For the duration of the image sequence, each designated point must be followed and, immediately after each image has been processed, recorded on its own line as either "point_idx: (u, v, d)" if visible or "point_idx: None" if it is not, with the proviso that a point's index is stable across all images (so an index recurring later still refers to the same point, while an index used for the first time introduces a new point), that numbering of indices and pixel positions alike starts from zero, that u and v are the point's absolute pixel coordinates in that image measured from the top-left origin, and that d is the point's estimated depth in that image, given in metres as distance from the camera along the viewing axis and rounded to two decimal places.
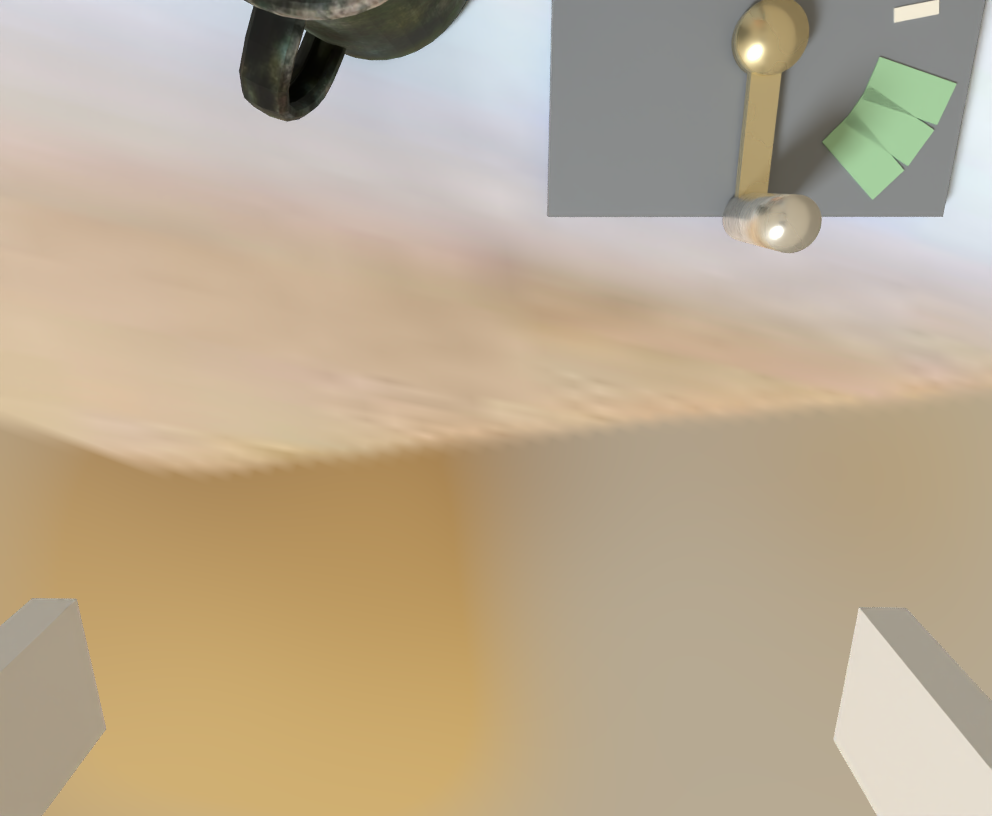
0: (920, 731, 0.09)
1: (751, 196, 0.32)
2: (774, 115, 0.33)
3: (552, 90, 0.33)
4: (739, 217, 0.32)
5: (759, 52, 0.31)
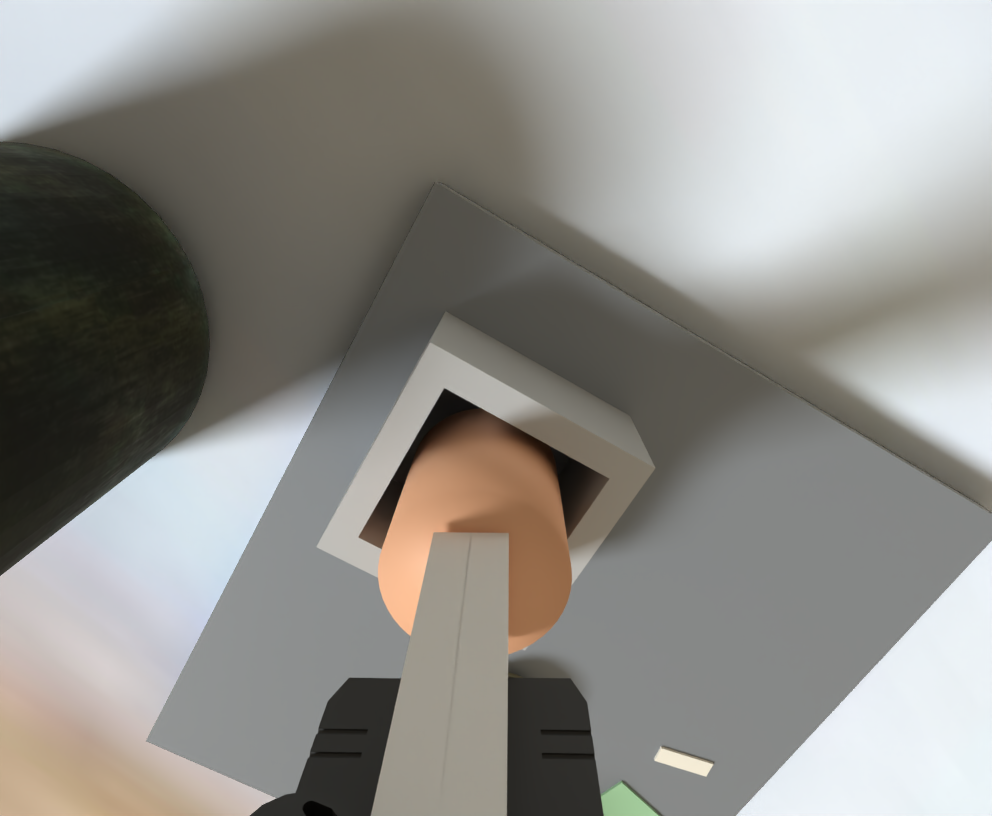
0: None
1: None
2: None
3: (209, 622, 0.23)
4: None
5: None
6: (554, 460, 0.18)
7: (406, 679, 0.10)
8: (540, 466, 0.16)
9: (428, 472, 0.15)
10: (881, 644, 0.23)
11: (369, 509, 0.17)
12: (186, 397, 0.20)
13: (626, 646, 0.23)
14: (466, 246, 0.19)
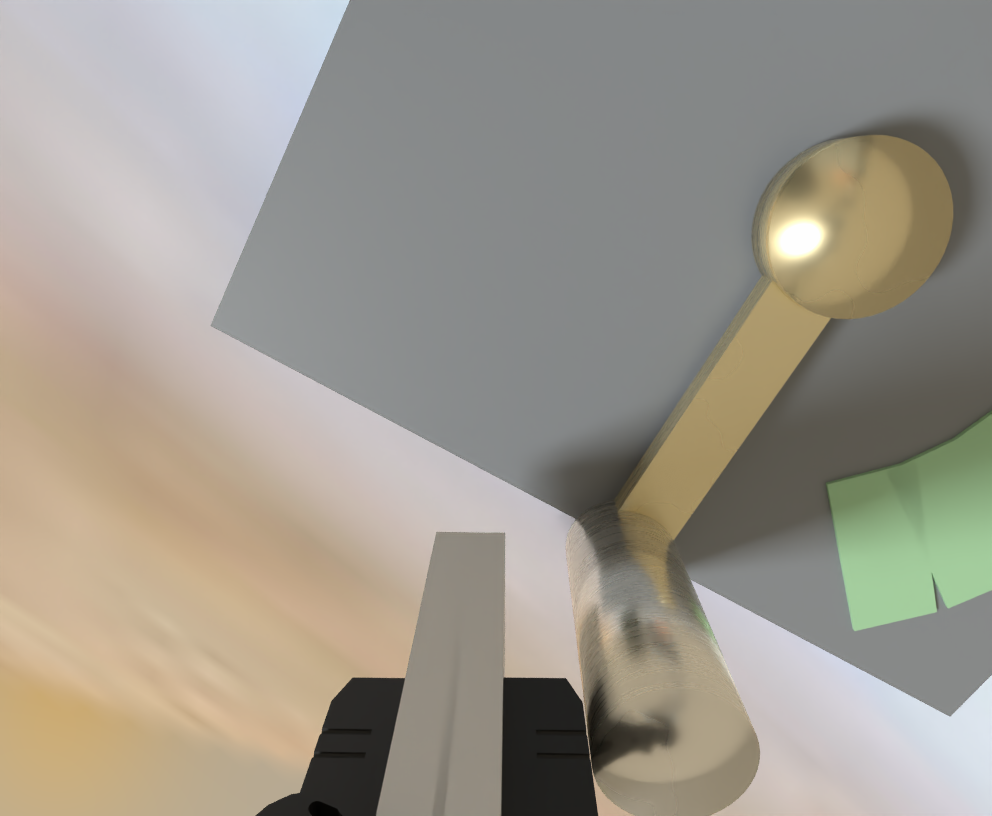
0: None
1: (636, 550, 0.13)
2: (771, 394, 0.14)
3: (329, 56, 0.13)
4: (586, 587, 0.13)
5: (811, 249, 0.12)
6: None
7: (410, 679, 0.10)
8: None
9: None
10: None
11: None
12: None
13: None
14: None
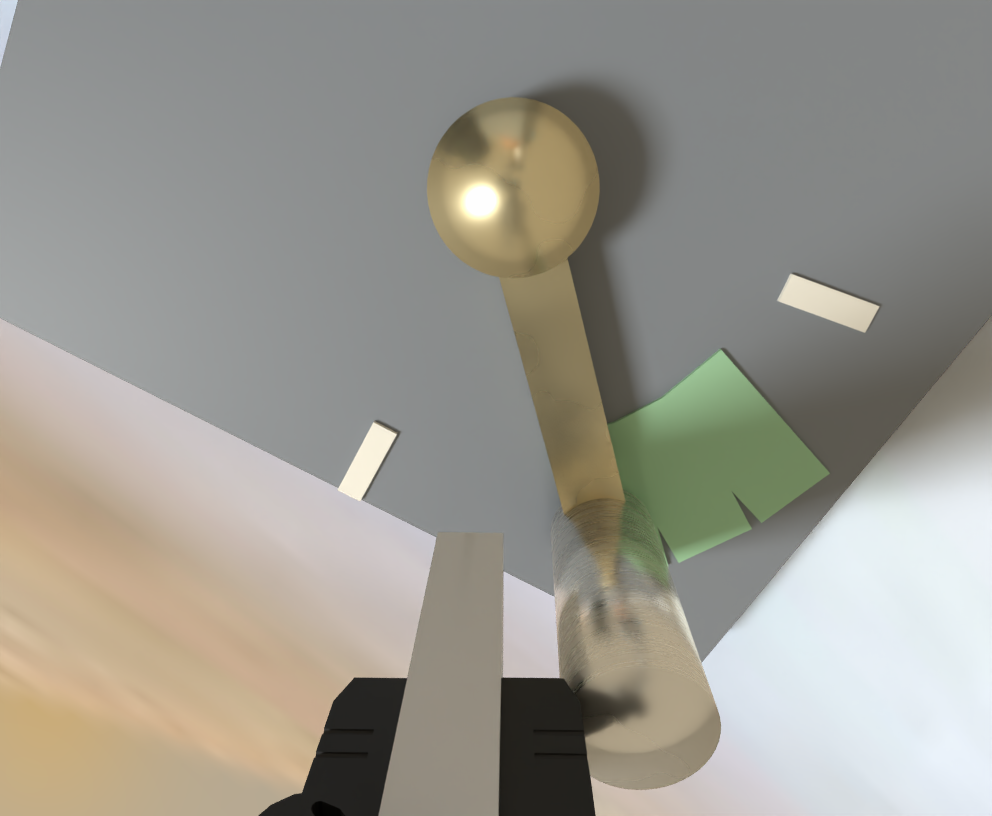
0: None
1: (572, 549, 0.14)
2: (583, 346, 0.14)
3: (14, 24, 0.13)
4: (555, 607, 0.14)
5: (493, 236, 0.13)
6: None
7: (412, 679, 0.09)
8: None
9: None
10: None
11: None
12: None
13: (740, 50, 0.13)
14: None
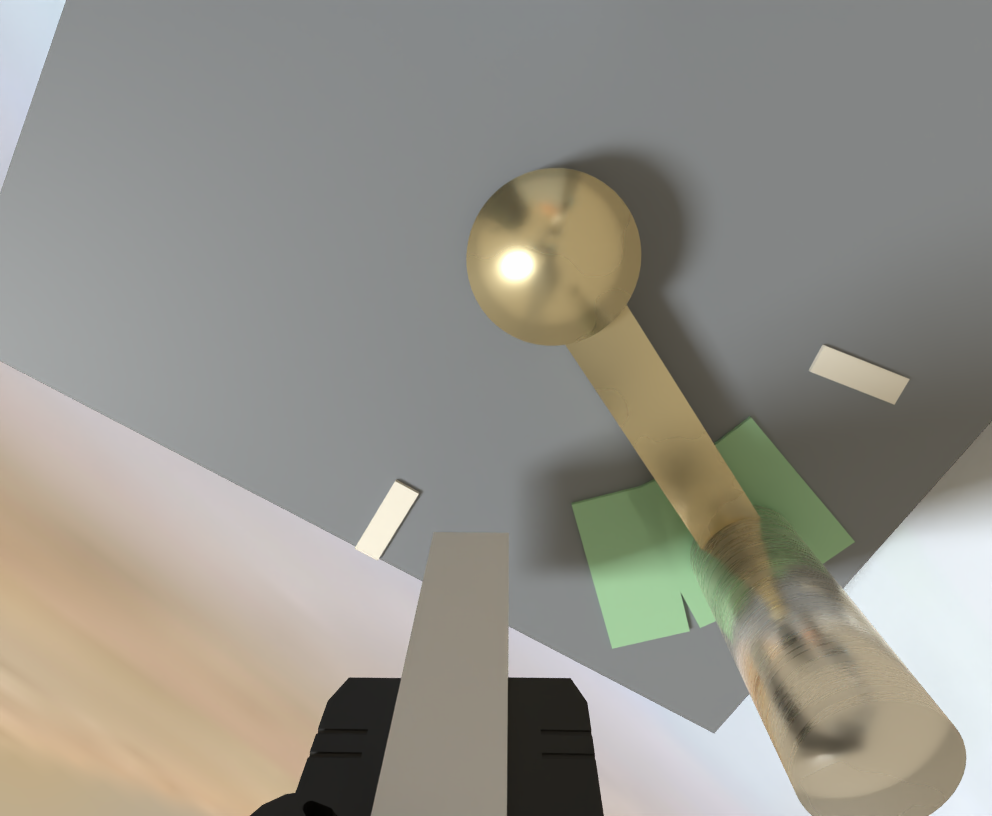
0: None
1: (727, 586, 0.13)
2: (668, 381, 0.14)
3: (44, 73, 0.13)
4: None
5: (547, 307, 0.13)
6: None
7: (406, 679, 0.09)
8: None
9: None
10: None
11: None
12: None
13: (781, 126, 0.13)
14: None
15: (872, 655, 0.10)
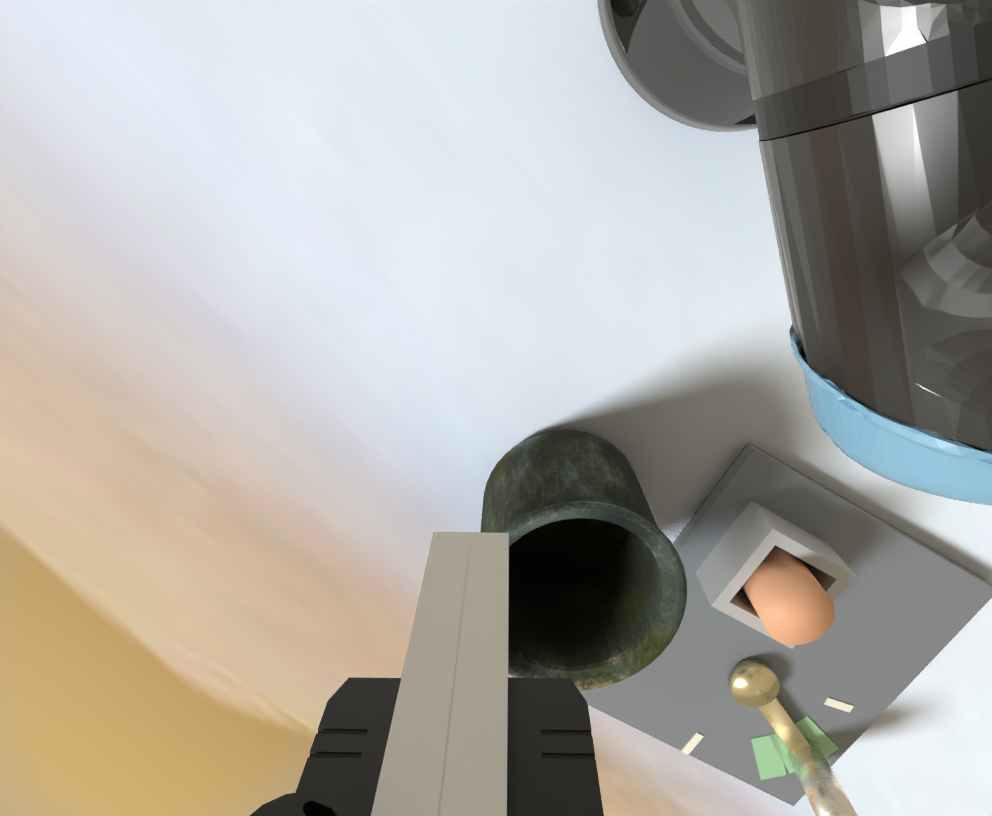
0: None
1: (802, 772, 0.48)
2: (784, 712, 0.48)
3: None
4: None
5: (753, 698, 0.47)
6: None
7: (406, 679, 0.10)
8: None
9: (774, 575, 0.40)
10: (938, 646, 0.47)
11: (736, 591, 0.42)
12: None
13: (815, 647, 0.47)
14: (764, 474, 0.43)
15: (840, 799, 0.45)
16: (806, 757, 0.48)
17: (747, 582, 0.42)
